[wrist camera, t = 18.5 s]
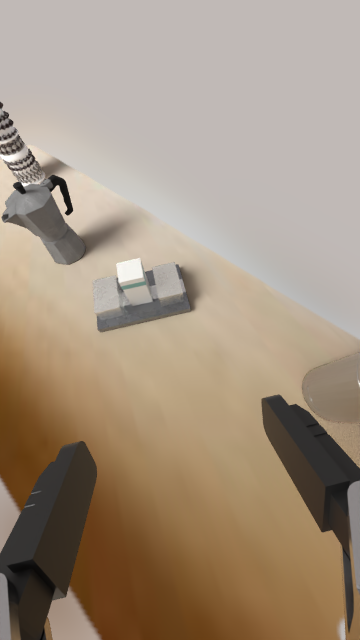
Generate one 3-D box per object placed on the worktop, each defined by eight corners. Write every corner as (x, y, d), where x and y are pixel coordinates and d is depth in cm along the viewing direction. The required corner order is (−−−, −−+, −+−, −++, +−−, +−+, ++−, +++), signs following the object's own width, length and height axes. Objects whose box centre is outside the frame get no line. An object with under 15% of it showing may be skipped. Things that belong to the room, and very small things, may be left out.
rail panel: (178, 268, 51) (177, 254, 46) (190, 311, 46) (190, 300, 41) (97, 286, 50) (87, 274, 46) (100, 332, 45) (90, 323, 41)
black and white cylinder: (49, 180, 69) (-23, 65, 46) (22, 191, 67) (-68, 77, 44) (43, 166, 72) (-28, 52, 49) (16, 176, 71) (-68, 64, 48)
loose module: (149, 284, 48) (140, 257, 39) (152, 301, 46) (143, 277, 37) (130, 289, 47) (116, 263, 39) (132, 306, 46) (118, 282, 37)
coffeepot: (62, 276, 52) (1, 214, 36) (39, 260, 55) (-28, 195, 38) (104, 236, 57) (67, 164, 40) (80, 223, 59) (36, 151, 43)
